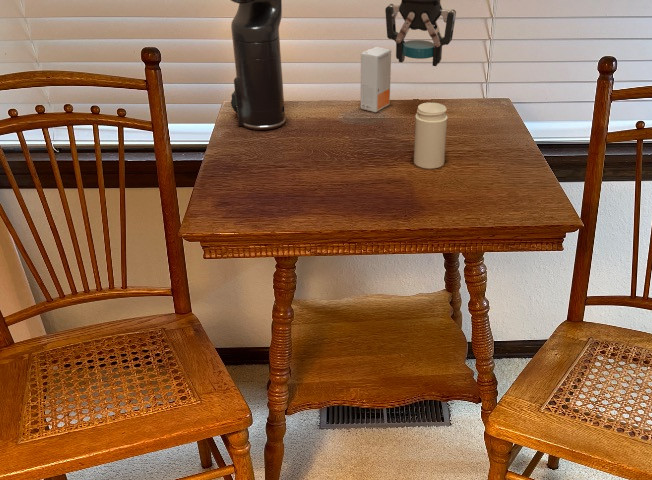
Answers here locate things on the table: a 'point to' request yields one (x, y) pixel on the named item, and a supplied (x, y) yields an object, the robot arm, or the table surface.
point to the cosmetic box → (375, 78)
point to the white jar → (430, 135)
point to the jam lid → (418, 49)
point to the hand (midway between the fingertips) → (418, 63)
